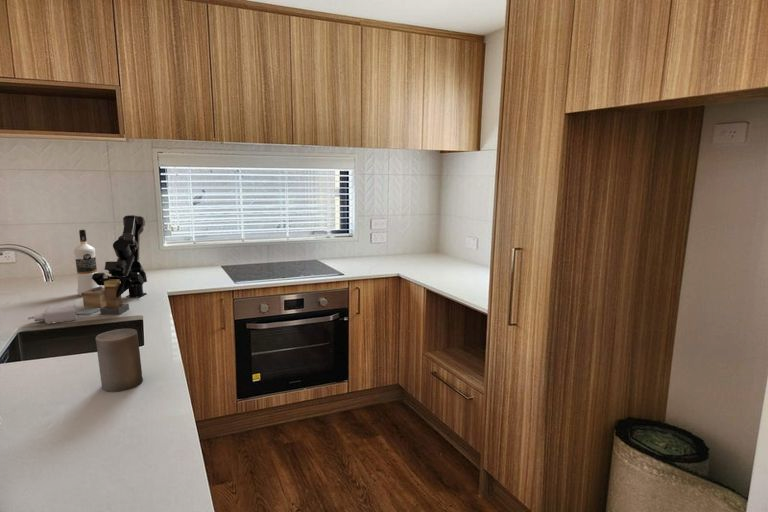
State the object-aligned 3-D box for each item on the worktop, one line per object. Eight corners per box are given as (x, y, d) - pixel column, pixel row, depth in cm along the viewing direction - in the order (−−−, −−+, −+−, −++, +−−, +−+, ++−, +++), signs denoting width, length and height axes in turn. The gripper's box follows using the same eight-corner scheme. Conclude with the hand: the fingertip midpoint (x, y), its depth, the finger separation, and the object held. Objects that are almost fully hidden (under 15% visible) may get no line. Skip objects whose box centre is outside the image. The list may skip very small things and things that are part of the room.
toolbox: (96, 302, 212) (94, 285, 211) (114, 302, 212) (112, 285, 211) (82, 308, 203) (80, 290, 201) (101, 308, 203) (99, 290, 201)
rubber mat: (83, 309, 202) (83, 308, 202) (103, 309, 202) (103, 307, 202) (71, 314, 194) (71, 313, 194) (91, 314, 194) (91, 313, 194)
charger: (29, 321, 186) (76, 315, 194) (27, 327, 179) (76, 321, 186) (28, 309, 186) (74, 303, 193) (25, 315, 178) (74, 309, 186)
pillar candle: (149, 376, 134) (143, 323, 132) (132, 391, 124) (125, 334, 122) (113, 377, 134) (106, 324, 131) (93, 393, 124) (86, 336, 122)
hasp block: (111, 309, 201) (110, 303, 201) (129, 309, 201) (128, 303, 200) (100, 314, 194) (100, 308, 193) (119, 314, 194) (118, 308, 193)
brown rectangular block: (113, 310, 199) (109, 279, 197) (122, 310, 199) (119, 279, 197) (107, 313, 195) (103, 281, 193) (117, 313, 195) (114, 281, 193)
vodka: (100, 290, 234) (93, 228, 229) (101, 294, 226) (94, 229, 221) (77, 293, 229) (69, 229, 224) (78, 297, 221) (70, 231, 216)
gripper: (91, 253, 197) (77, 286, 188) (137, 252, 197) (125, 286, 188) (104, 268, 207) (92, 301, 197) (149, 268, 206) (138, 300, 197)
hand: (111, 296), depth 195 cm, fingers closed on brown rectangular block, 4 cm apart
